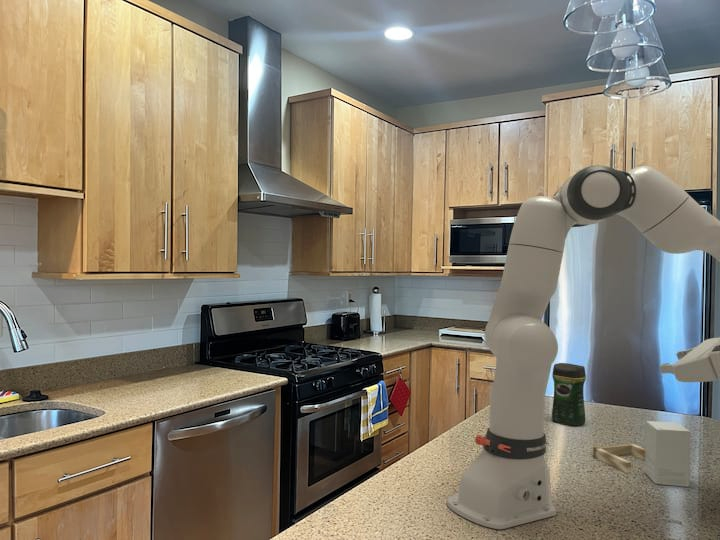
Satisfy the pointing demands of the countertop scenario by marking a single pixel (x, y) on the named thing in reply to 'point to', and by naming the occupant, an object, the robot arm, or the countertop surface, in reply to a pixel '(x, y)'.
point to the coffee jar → (568, 394)
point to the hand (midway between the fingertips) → (669, 362)
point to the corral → (612, 452)
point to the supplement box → (667, 453)
